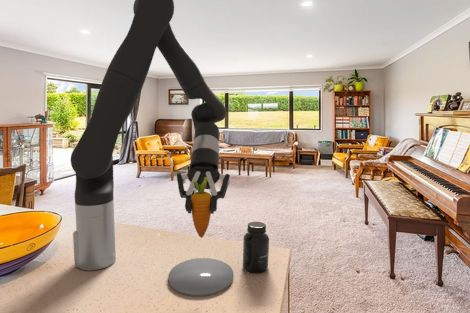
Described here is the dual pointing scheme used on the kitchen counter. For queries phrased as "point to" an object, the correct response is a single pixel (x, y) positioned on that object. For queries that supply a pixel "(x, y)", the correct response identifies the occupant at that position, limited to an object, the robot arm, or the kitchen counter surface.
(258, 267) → the supplement bottle
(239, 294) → the kitchen counter surface
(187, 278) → the slate plate
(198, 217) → the carrot
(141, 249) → the kitchen counter surface
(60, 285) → the kitchen counter surface
